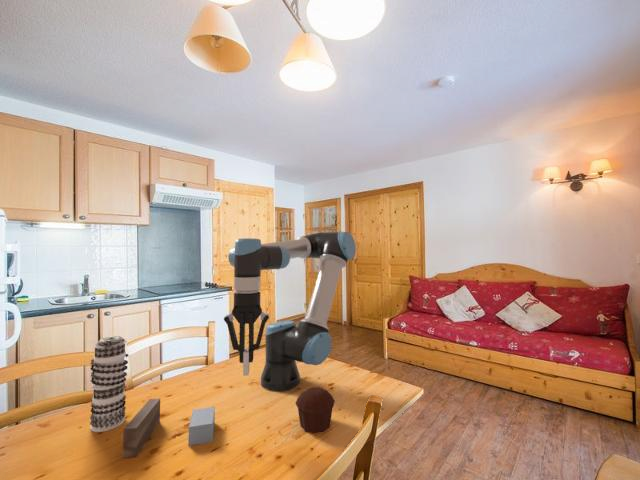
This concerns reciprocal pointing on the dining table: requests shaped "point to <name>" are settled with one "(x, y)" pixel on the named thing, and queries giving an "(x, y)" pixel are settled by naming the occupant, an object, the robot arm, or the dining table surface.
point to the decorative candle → (108, 384)
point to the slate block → (201, 426)
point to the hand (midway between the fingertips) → (246, 373)
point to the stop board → (141, 428)
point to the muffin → (315, 409)
